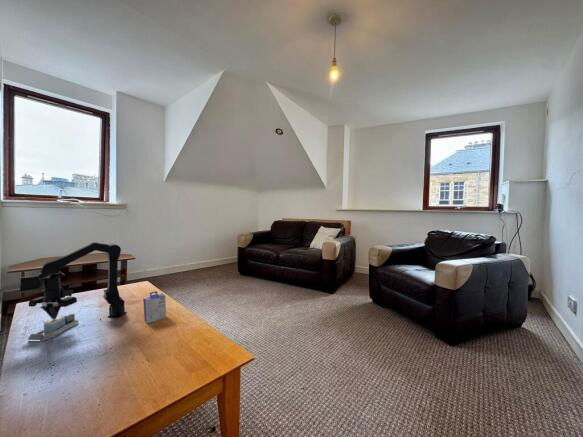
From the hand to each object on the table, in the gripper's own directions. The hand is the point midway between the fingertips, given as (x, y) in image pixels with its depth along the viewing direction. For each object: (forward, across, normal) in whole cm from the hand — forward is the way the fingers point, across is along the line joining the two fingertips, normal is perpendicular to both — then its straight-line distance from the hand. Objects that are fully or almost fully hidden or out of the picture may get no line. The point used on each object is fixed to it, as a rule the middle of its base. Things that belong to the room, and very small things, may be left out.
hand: (54, 318), depth 119 cm
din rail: (+6, 0, 0) cm, 6 cm away
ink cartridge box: (+7, -41, -14) cm, 44 cm away
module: (+5, 0, 0) cm, 5 cm away
